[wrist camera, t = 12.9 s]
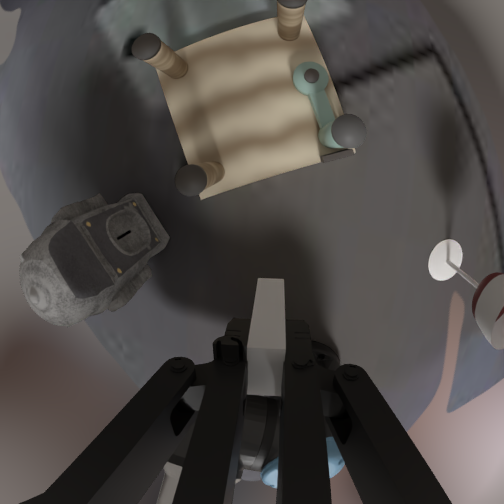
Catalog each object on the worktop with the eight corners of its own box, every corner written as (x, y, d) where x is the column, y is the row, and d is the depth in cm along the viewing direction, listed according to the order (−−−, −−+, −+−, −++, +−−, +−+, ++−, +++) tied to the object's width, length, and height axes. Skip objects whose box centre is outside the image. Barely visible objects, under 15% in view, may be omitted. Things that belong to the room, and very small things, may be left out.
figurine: (132, 176, 42) (12, 212, 19) (181, 251, 46) (100, 347, 22) (94, 210, 45) (-18, 263, 21) (139, 278, 48) (54, 370, 24)
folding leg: (287, 70, 33) (291, 42, 23) (319, 62, 32) (332, 33, 22) (318, 152, 36) (334, 153, 26) (349, 144, 35) (375, 142, 25)
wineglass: (419, 277, 44) (480, 346, 25) (439, 229, 41) (515, 279, 22) (451, 287, 44) (511, 351, 25) (470, 243, 41) (543, 293, 22)
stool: (351, 152, 38) (384, 154, 26) (205, 196, 42) (174, 217, 30) (300, 18, 32) (308, -29, 19) (159, 65, 36) (115, 38, 23)
